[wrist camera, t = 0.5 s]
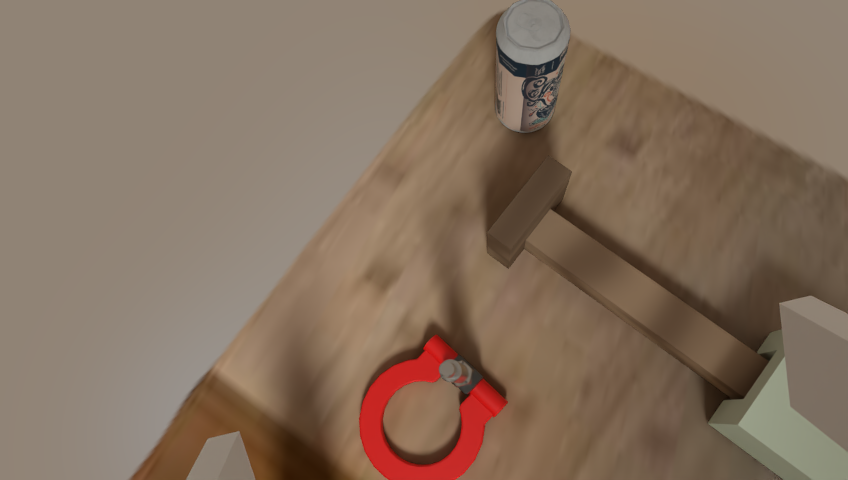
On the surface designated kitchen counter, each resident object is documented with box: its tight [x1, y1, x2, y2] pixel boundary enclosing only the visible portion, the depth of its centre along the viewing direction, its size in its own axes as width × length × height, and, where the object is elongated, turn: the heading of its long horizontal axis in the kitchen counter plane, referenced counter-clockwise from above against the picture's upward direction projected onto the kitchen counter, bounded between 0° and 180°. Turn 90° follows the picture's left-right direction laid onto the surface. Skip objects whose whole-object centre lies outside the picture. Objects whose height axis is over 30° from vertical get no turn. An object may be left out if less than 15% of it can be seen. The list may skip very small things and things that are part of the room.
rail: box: [487, 156, 769, 400], centre depth 44 cm, size 27×7×6 cm, turn 51°
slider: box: [708, 329, 848, 480], centre depth 42 cm, size 7×8×6 cm
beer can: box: [495, 0, 570, 133], centre depth 47 cm, size 5×5×12 cm
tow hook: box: [359, 335, 508, 480], centre depth 40 cm, size 9×14×10 cm
